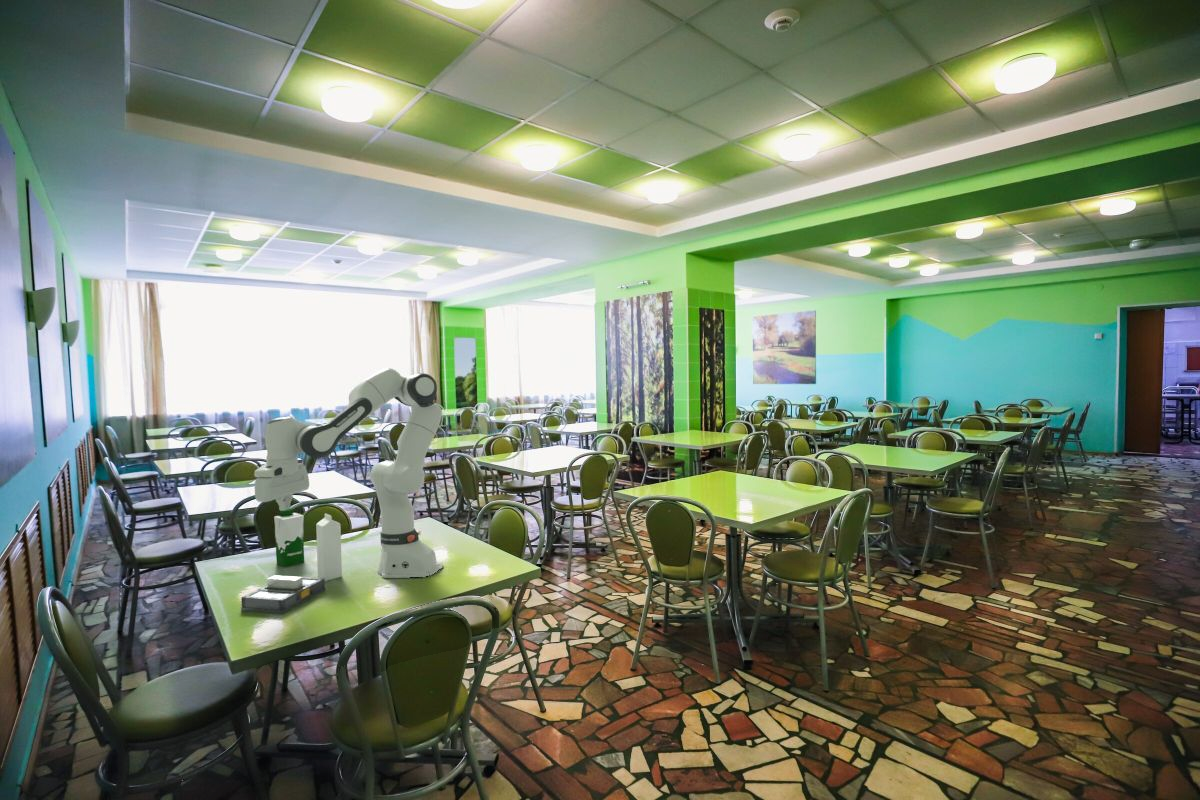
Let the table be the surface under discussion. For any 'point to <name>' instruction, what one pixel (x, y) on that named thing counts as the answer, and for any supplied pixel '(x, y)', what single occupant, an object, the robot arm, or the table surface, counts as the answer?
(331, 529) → the milk
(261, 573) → the table surface
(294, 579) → the white rectangular block
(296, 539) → the milk carton
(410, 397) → the robot arm
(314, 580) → the tray
